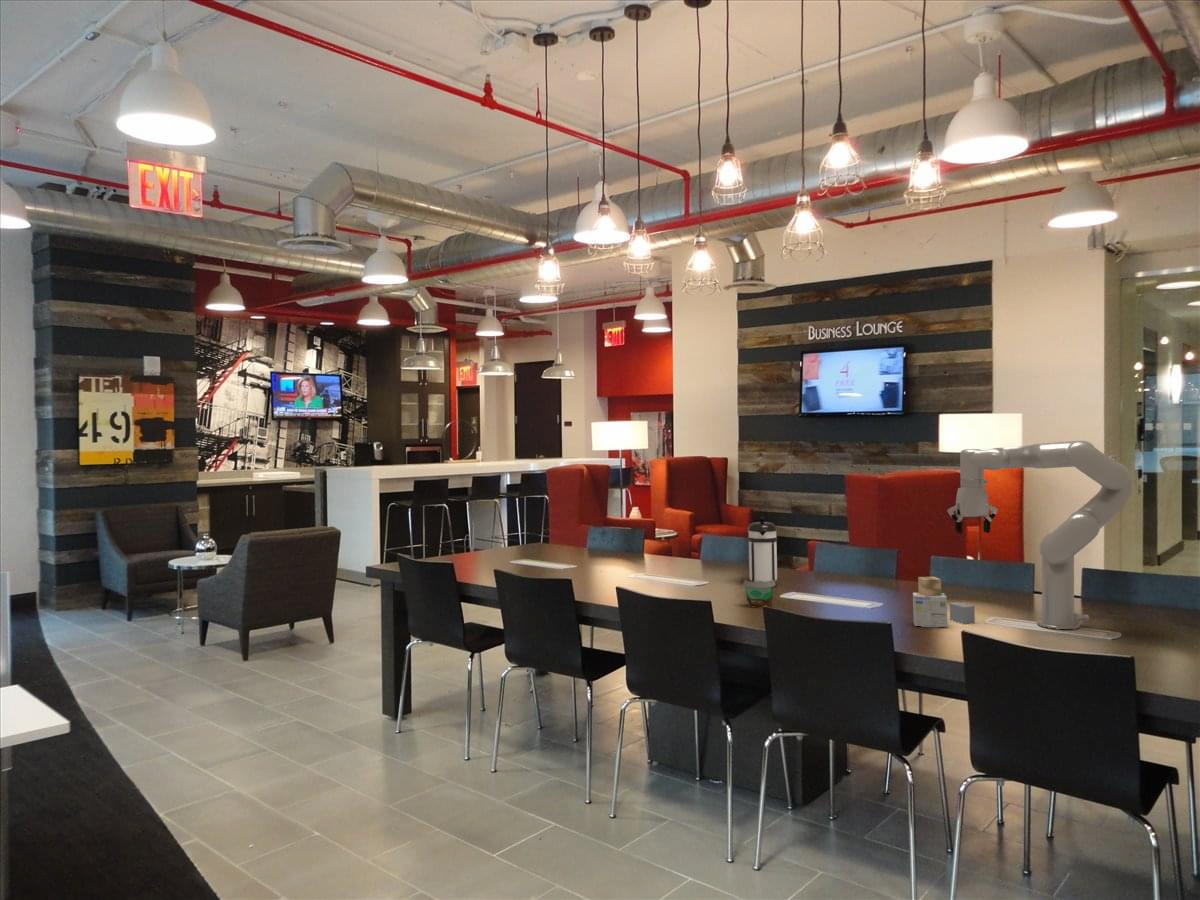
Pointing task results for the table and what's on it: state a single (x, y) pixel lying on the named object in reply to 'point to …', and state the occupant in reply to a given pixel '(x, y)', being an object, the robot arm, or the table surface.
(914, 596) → the light bulb box
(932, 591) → the oak cube
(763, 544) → the coffee press
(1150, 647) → the table surface
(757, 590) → the food container
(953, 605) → the slate block
